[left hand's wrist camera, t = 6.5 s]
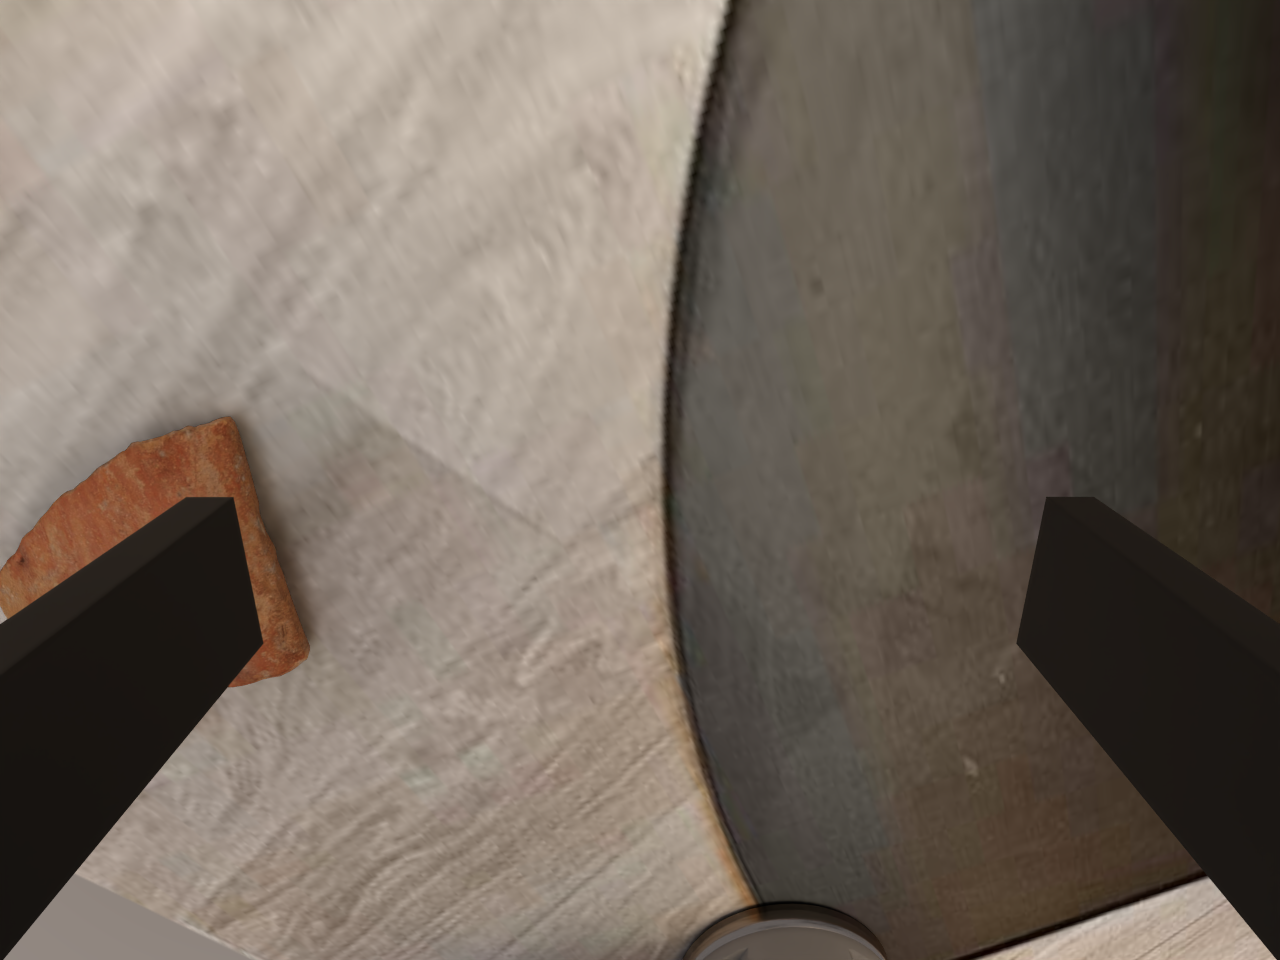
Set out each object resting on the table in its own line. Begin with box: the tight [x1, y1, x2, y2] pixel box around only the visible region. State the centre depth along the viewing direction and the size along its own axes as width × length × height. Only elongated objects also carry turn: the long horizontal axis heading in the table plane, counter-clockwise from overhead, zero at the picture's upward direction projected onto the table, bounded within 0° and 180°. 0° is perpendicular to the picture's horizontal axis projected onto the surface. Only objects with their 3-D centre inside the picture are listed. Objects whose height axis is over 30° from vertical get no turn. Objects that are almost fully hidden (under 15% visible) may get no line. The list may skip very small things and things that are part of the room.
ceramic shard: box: [0, 417, 310, 687], centre depth 41 cm, size 15×6×15 cm
